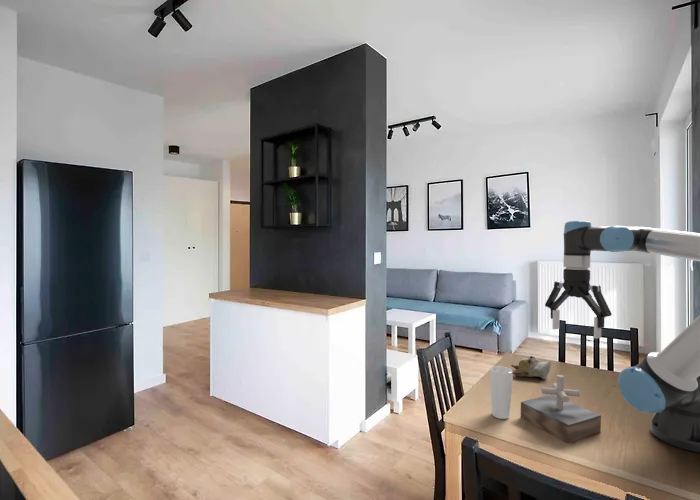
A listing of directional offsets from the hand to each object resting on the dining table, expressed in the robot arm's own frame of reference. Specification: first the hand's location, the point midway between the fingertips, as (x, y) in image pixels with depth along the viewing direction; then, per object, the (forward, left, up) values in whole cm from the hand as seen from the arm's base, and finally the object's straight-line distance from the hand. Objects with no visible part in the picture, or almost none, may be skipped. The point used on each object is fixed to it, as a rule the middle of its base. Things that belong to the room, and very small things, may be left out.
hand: (575, 333), depth 124 cm
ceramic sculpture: (+27, -12, -26) cm, 39 cm away
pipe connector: (-5, +14, -21) cm, 25 cm away
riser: (-5, +14, -25) cm, 29 cm away
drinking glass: (+6, +26, -26) cm, 37 cm away
